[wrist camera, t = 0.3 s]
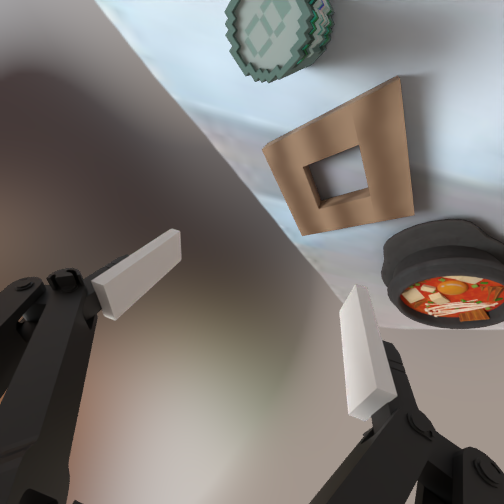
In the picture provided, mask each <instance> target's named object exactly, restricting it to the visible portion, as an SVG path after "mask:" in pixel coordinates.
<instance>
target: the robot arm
mask: <svg viewBox="0 0 504 504" xmlns="http://www.w3.org/2000/svg"><path fill="white" fill-rule="evenodd" d="M180 261H181V241H180V231H178V230H174V229H170V230H168V231H167V232H165V233H164V234H162V235H161V236H159V237H158V238H156V239H155V240H153V241H152V242H150V243H148V244H147V245H145V246H144V247H142V248H141V249H139V250H138V251H136V252H134V253H133V254H131V255H124V256H121V257H118V258H117V259H115V260H114V261H112V262H111V263H109V264H107V265H105V267H103V268H101V269H99V270H97V271H96V272H94V273H93V274H91V275H89V276H88V277H86V278H85V279H83V278H82V275H81V273H80V271H79V270H77V269H74V268H66V269H62V270H58V271H56V272H54V273H52V274H50V275H49V276H48V277H47V281H48V282H49V284H50V285H44V283H43V282H42V280H41V279H40V278H38V277H27V278H23V279H19V280H17V281H15V282H13V283H11V284H10V285H8V286H7V287H6V288H5V289H4V290H3V291H1V292H0V398H1V397H2V395H3V394H4V393H5V391H6V390H7V391H6V393H5V395H4V398H3V400H2V402H1V404H0V504H66V501H67V496H68V490H69V482H70V475H69V468H68V462H69V456H70V451H71V446H72V441H73V436H74V432H75V426H76V422H77V417H78V412H79V407H80V402H81V397H82V392H83V387H84V382H85V377H86V372H87V368H88V363H89V358H90V353H91V348H92V343H93V338H94V332H95V328H96V323H97V313H98V312H99V311H100V310H101V309H102V311H103V314H104V316H105V317H108V318H110V319H113V320H116V319H118V318H119V316H121V315H122V314H123V313H124V312H125V311H126V310H127V309H128V308H129V307H131V306H132V305H133V304H134V303H135V302H136V301H137V300H138V299H139V298H140V297H141V296H143V295H144V294H145V293H146V292H147V291H148V290H149V289H150V288H151V287H152V286H154V285H155V284H156V283H157V282H158V281H159V280H160V279H161V278H162V277H163V276H164V275H165V274H167V273H168V272H169V271H170V270H171V269H172V268H173V267H174V266H175V265H176V264H177V263H178V262H180ZM22 316H23V317H24V318H23V319H22V320H21V321H20V322H18V320H19V319H20V318H21V317H22ZM340 323H341V333H342V334H341V336H342V347H343V359H344V370H345V382H346V393H347V405H348V415H350V416H353V417H355V418H358V419H360V420H363V421H366V420H368V419H369V418H370V417H371V418H372V424H373V427H372V428H371V429H369V430H368V431H367V432H365V433H364V434H363V436H364V437H363V438H362V439H361V441H360V442H359V443H358V444H357V446H356V447H355V448H354V449H353V451H352V452H351V453H350V454H349V455H348V457H347V458H346V459H345V460H344V462H343V463H342V464H341V465H340V467H339V468H338V469H337V470H336V471H335V472H334V474H333V475H332V476H331V477H330V479H329V480H328V481H327V482H326V484H325V485H324V486H323V487H322V488H321V490H320V491H319V492H318V493H317V495H316V496H315V497H314V498H313V500H312V501H311V502H310V503H309V504H405V502H406V500H407V499H408V497H409V495H410V493H411V491H412V489H413V487H414V485H415V483H416V481H418V482H417V490H416V497H415V504H504V473H503V472H502V471H501V469H500V468H499V467H498V466H497V465H496V463H495V462H494V461H493V460H491V459H490V458H489V457H488V456H487V455H486V454H485V453H483V452H481V451H480V450H478V449H476V448H473V447H467V448H464V449H461V448H459V447H458V446H456V445H455V444H453V443H452V442H450V441H449V440H448V439H446V438H445V437H443V436H442V435H440V434H439V433H438V432H436V431H435V429H434V427H433V425H432V423H431V421H430V420H429V419H428V418H427V417H426V416H425V414H423V413H422V412H421V411H420V410H419V409H418V407H417V404H416V402H415V398H414V396H413V392H412V389H411V386H410V383H409V380H408V377H407V375H406V374H405V369H404V366H403V363H402V360H401V357H400V354H399V352H398V351H397V350H396V348H395V347H394V345H393V344H392V343H389V342H386V341H383V340H382V338H381V335H380V331H379V327H378V324H377V320H376V317H375V313H374V309H373V306H372V302H371V299H370V295H369V291H368V288H367V287H364V286H360V285H357V284H355V286H354V288H353V289H352V291H351V293H350V294H349V296H348V298H347V299H346V301H345V303H344V305H343V306H342V308H341V310H340ZM7 388H8V389H7ZM73 504H82V503H80V502H78V501H76V500H75V501H74V502H73Z"/></svg>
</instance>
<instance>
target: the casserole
mask: <svg viewBox="0 0 504 504" xmlns="http://www.w3.org/2000/svg"><path fill="white" fill-rule="evenodd" d="M381 275H382V279H383V282H384V284H385V285H386V286H387V287H388V288H387V292H388V296H389V298H390V300H391V301H392V303H393V304H394V305H395V306H396V307H397V308H398V309H399V311H400V312H401V313H403V314H404V315H405V316H407V317H408V318H410V319H412V320H414V321H417V322H419V323H422V324H426V325H430V326H435V327H440V328H450V329H470V328H480V327H486V326H490V325H494V324H498V323H500V322H503V321H504V244H503V243H501V242H499V241H497V240H495V239H493V238H491V237H489V236H488V235H487V234H485V233H484V232H483V231H482V230H481V229H480V228H479V227H477V226H476V225H475V224H473V223H472V222H469V221H465V220H461V219H445V220H437V221H431V222H426V223H422V224H418V225H415V226H412V227H410V228H407V229H404V230H403V231H401V232H399V233H397V234H395V235H393V236H392V237H391V238H390V239H388V240H387V241H386V243H385V245H384V263H383V267H382V271H381Z"/></svg>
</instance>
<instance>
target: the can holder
mask: <svg viewBox="0 0 504 504" xmlns="http://www.w3.org/2000/svg"><path fill="white" fill-rule="evenodd" d="M357 145H359V147H360V152H361V156H362V161H363V165H364V169H365V174H366V178H367V183H368V188H365V189H361V190H358V191H354V192H350V193H347V194H343V195H340V196H336V197H332V198H329V199H325V200H322V201H321V199H320V196H319V193H318V190H317V188H316V185H315V182H314V179H313V177H312V174H311V171H310V169H309V166H308V165H309V164H312V163H314V162H317V161H319V160H322V159H324V158H327V157H329V156H332V155H334V154H337V153H339V152H342V151H344V150H347V149H350V148H352V147H355V146H357ZM262 151H263V153H264V155H265V157H266V160H267V162H268V164H269V166H270V168H271V170H272V172H273V175H274V177H275V179H276V181H277V183H278V185H279V187H280V190H281V192H282V194H283V196H284V198H285V200H286V202H287V205H288V207H289V209H290V211H291V213H292V215H293V217H294V220H295V222H296V224H297V226H298V228H299V230H300V232H301V235H302V236H305V235H310V234H316V233H321V232H326V231H332V230H337V229H342V228H348V227H353V226H359V225H364V224H369V223H375V222H380V221H386V220H391V219H396V218H402V217H407V216H412V215H415V214H414V205H413V195H412V186H411V177H410V167H409V158H408V148H407V139H406V129H405V120H404V110H403V101H402V91H401V82H400V78H399V77H398V75H397V76H395V77H393V78H392V79H390V80H388V81H386V82H384V83H382V84H380V85H378V86H376V87H374V88H372V89H371V90H369V91H367V92H365V93H363V94H361V95H359V96H357V97H355V98H353V99H351V100H350V101H348V102H346V103H344V104H342V105H340V106H338V107H336V108H334V109H332V110H330V111H329V112H327V113H325V114H323V115H321V116H319V117H317V118H315V119H313V120H311V121H309V122H307V123H306V124H304V125H302V126H300V127H298V128H296V129H294V130H292V131H290V132H288V133H286V134H285V135H283V136H281V137H279V138H277V139H275V140H273V141H271V142H269V143H268V144H267V145H266V146H265V147H264V148H263V149H262Z"/></svg>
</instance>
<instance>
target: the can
mask: <svg viewBox="0 0 504 504" xmlns="http://www.w3.org/2000/svg"><path fill="white" fill-rule="evenodd" d="M225 14H226V16H227V17H228V19H227V21H226V23H225V25H226V27H227V28H228V32H227V33H226V35H225V36H226V37H227V39H228V40H229V42H230V43H231V45H232V48H231V49H230V51H229V52H230V53H231V55H232V56H233V58H234V59H235V61H236V62H237V64H238V65H239V67H240V68H241V70H242V72H243V73H244V75H245V76H249V75H251V76H252V78H253V79H254V81H255V82H257V81H259V80H260V81H261V82H265V81H267V82H268V83H270V82H273V81H275V80H277V79H279V80H280V79H282V78H284V77H286V76H288V75H290V74H293V73H295V72H297V71H299V70H301V69H303V68H305V67H307V66H310V65H312V64H313V63H314V62H315V61H316V60H317V59H318V58H319V57H320V55H321V54H322V53H323V52H324V51H325V50H326V47H325V45H326V44H327V43H328V42H329V41H330V40H331V38H330V36H329V35H330V34H331V33H332V29H331V28H332V27H333V25H334V23H333V20H332V18H331V16H332V15H333V14H334V11H333V9H332V7H331V4H330V2H329V0H231V1H230V3H229V5H228V6H227V8H226V10H225Z"/></svg>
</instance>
